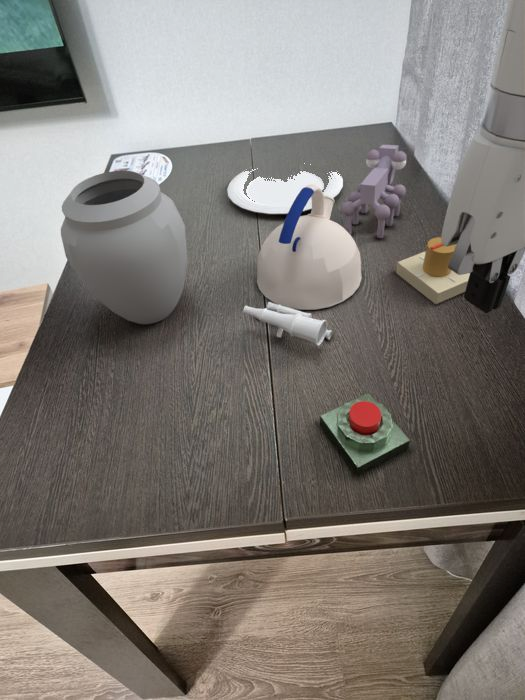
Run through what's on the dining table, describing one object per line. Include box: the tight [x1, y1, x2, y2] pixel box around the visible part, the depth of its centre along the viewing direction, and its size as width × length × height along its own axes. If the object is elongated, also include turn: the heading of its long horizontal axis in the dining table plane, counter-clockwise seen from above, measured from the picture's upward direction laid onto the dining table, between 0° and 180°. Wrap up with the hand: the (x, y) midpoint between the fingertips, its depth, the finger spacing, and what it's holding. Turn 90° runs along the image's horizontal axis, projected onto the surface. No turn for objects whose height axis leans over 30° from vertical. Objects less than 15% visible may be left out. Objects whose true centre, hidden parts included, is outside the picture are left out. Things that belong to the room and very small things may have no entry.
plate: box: [226, 163, 344, 216], centre depth 110 cm, size 29×29×2 cm
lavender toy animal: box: [340, 144, 408, 239], centre depth 94 cm, size 20×11×14 cm, turn 150°
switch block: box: [319, 392, 411, 476], centre depth 58 cm, size 9×8×4 cm
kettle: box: [256, 184, 363, 311], centre depth 79 cm, size 20×21×18 cm
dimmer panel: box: [395, 250, 470, 305], centre depth 80 cm, size 11×9×3 cm
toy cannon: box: [242, 301, 333, 347], centre depth 72 cm, size 8×14×5 cm
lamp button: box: [349, 401, 381, 434], centre depth 56 cm, size 4×4×2 cm
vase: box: [60, 170, 188, 325], centre depth 74 cm, size 20×20×24 cm
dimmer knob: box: [423, 236, 457, 277], centre depth 78 cm, size 5×5×5 cm
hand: (481, 303), depth 45 cm, fingers closed
